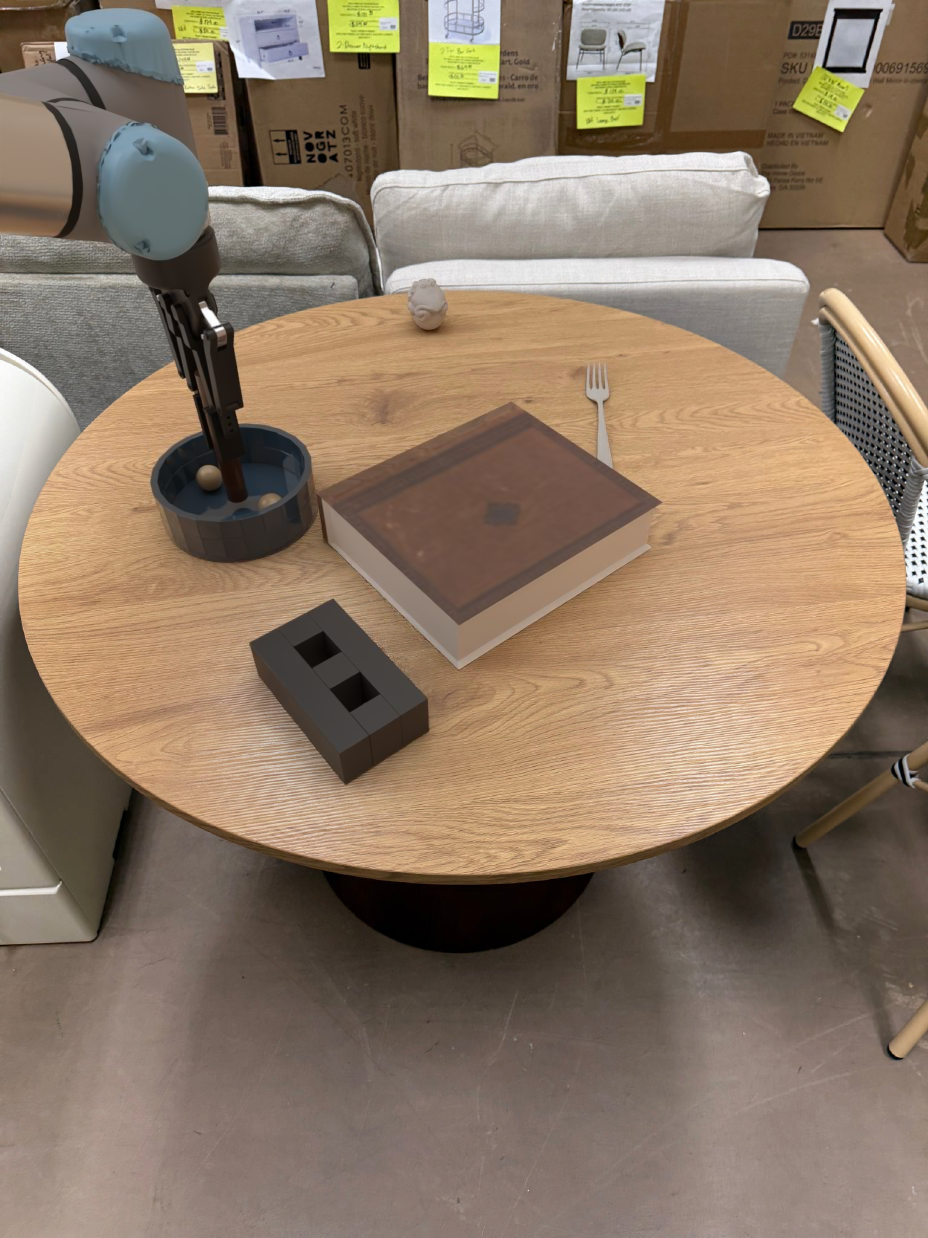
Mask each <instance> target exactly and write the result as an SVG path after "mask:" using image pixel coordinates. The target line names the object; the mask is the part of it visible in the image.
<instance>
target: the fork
mask: <svg viewBox="0 0 928 1238" xmlns="http://www.w3.org/2000/svg"><path fill="white" fill-rule="evenodd" d="M601 365H602V364H601V361H599V362H598V370H597V371H598V372H597V375H598V388H597V383H596V381H597V380H596V361H593V365H592V386H591V387H590V382H591V381H590V380H591V362H590V361H588V362H587V368H586V369H587V370H586V383H585V384H586V385H585V386H586V387H585V394H586V397H587V398H588V399H590V400H591V401H594V402H596V404H597V409H598V412H597V413H598V424H597V426H598V427H597V444H596V445H597V446H596V447H597V448H596V449H597V452H596V458H597V459H599V460H600V461H602V462H603V463H605V464H606V465H608V466H609V467H611V468H612V469H614V465H613V459H612V453H611V448H610V443H609V436H608V432H607V425H606V420H605V413H604V412H605V411H604V403H603V402H604V401H607V400H608V399H609V398H610V388H609V381H608V371H607V363H606V362H605V361H604V362H603V377H604V387H603V381H602V380H603V379H602V366H601Z"/></svg>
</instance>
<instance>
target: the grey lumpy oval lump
mask: <svg viewBox="0 0 928 1238" xmlns="http://www.w3.org/2000/svg"><path fill="white" fill-rule="evenodd" d="M406 307H407V310H408V311H409V314H410V315H411V318H412V320H413V321H414V323H415V324H416V325H417V326H418V327H419V328H421V329H422V330H427V331H429V330H430V331H431V330H435V329H437V328H438V327H440V326H441V325H442V323H443V322H444V320H445V317H446V316H447V311H448V309H449V304H448V301H447V299H446V295H445V292H444V291H443V290H442V288H441V287H440V285H439V284H437V280H436V279H435V278H433V277H429V278H420V279H419V280H415V281H413V282H412V285H411V287H410V288H409V290H408V293H407V305H406Z"/></svg>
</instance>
